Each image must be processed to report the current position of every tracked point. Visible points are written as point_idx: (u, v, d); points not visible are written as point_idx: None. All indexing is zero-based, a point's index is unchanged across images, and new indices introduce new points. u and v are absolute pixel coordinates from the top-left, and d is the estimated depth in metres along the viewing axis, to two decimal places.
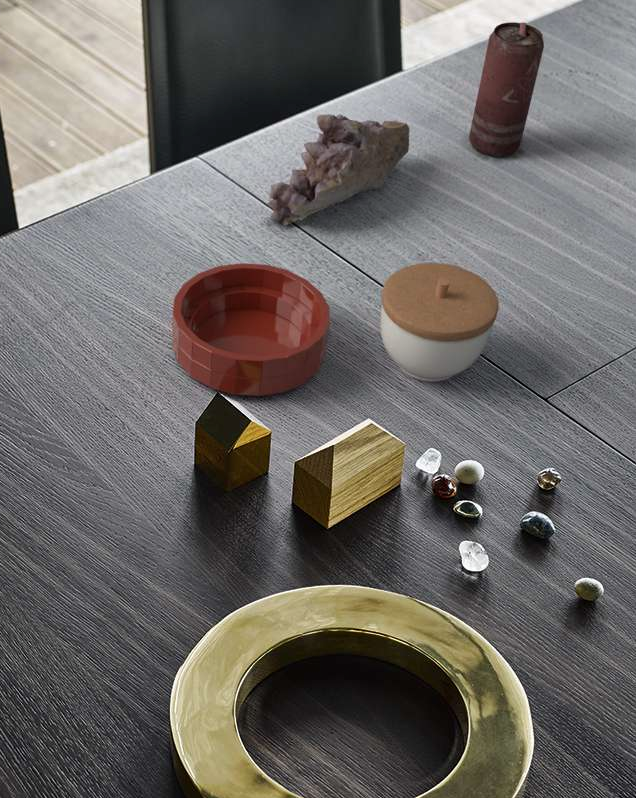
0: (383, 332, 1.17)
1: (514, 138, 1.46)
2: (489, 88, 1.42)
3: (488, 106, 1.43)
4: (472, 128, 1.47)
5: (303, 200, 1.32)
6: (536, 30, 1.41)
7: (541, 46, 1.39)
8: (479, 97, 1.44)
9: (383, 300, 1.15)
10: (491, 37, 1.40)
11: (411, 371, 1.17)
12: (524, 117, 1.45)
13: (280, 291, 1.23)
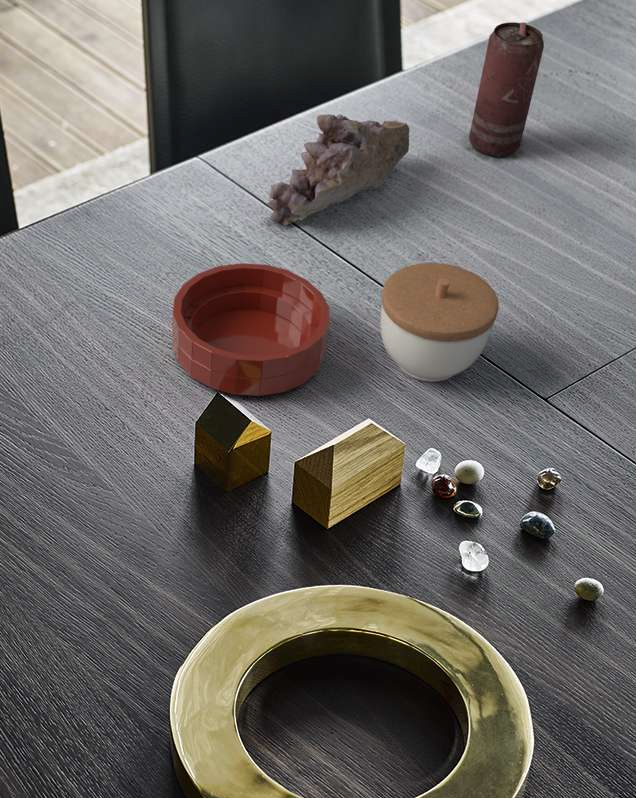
0: (383, 332, 1.17)
1: (514, 138, 1.46)
2: (489, 88, 1.42)
3: (488, 106, 1.43)
4: (472, 128, 1.47)
5: (303, 200, 1.32)
6: (536, 30, 1.41)
7: (541, 46, 1.39)
8: (479, 97, 1.44)
9: (383, 300, 1.15)
10: (491, 37, 1.40)
11: (411, 371, 1.17)
12: (524, 117, 1.45)
13: (280, 291, 1.23)
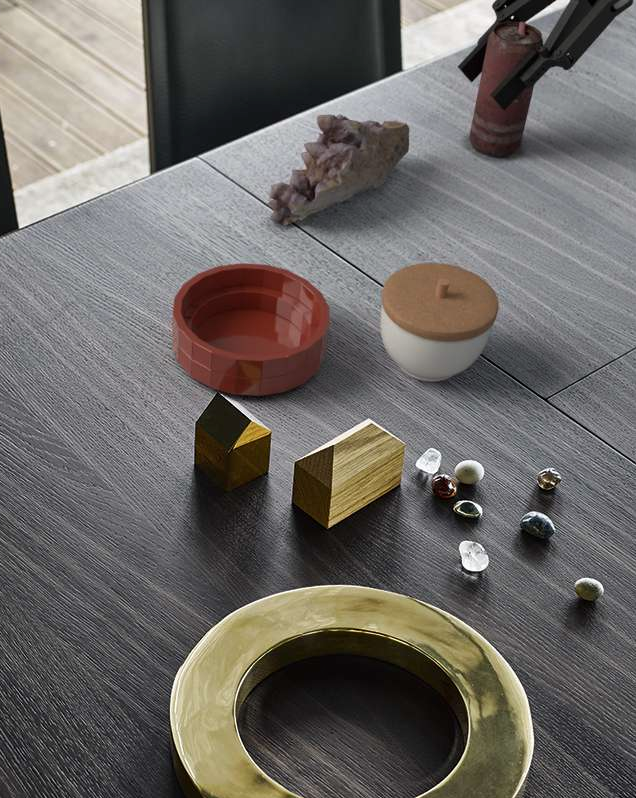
0: (383, 332, 1.17)
1: (515, 137, 1.46)
2: (489, 87, 1.42)
3: (488, 106, 1.43)
4: (472, 128, 1.47)
5: (303, 200, 1.32)
6: (535, 29, 1.41)
7: (541, 45, 1.39)
8: (479, 97, 1.44)
9: (383, 300, 1.15)
10: (490, 36, 1.40)
11: (411, 371, 1.17)
12: (524, 116, 1.45)
13: (280, 291, 1.23)
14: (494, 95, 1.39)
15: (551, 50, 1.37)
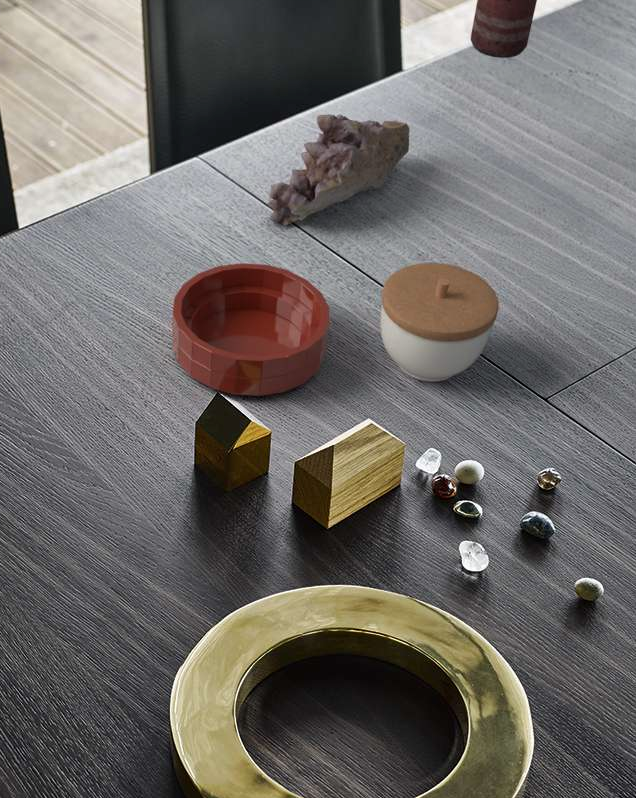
0: (383, 332, 1.17)
1: (521, 35, 1.33)
2: None
3: None
4: (474, 26, 1.34)
5: (303, 200, 1.32)
6: None
7: None
8: None
9: (383, 300, 1.15)
10: None
11: (411, 371, 1.17)
12: (531, 11, 1.31)
13: (280, 291, 1.23)
14: None
15: None
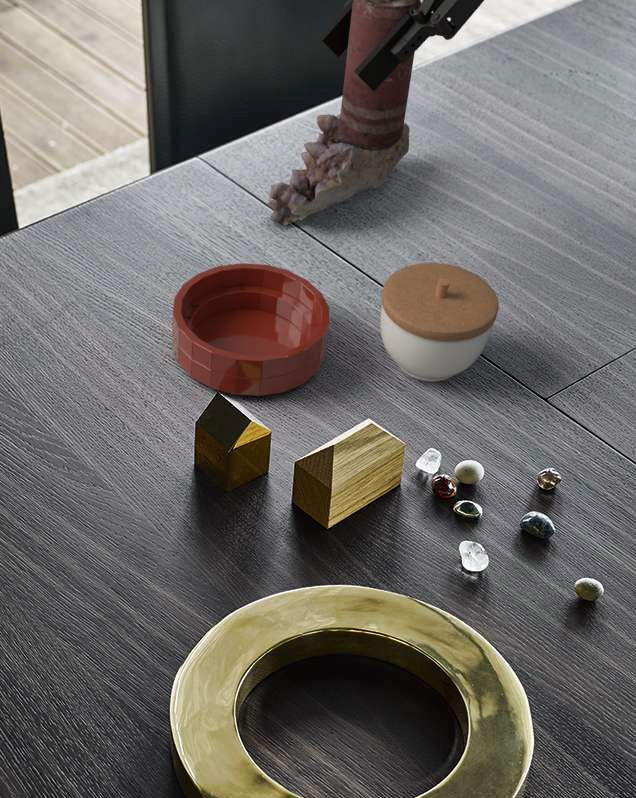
0: (383, 332, 1.17)
1: (392, 126, 1.17)
2: (356, 63, 1.13)
3: (356, 86, 1.14)
4: (341, 115, 1.18)
5: (303, 200, 1.32)
6: None
7: (417, 9, 1.10)
8: (346, 75, 1.15)
9: (383, 300, 1.15)
10: None
11: (411, 371, 1.17)
12: (403, 100, 1.16)
13: (280, 291, 1.23)
14: (359, 72, 1.10)
15: (428, 14, 1.08)
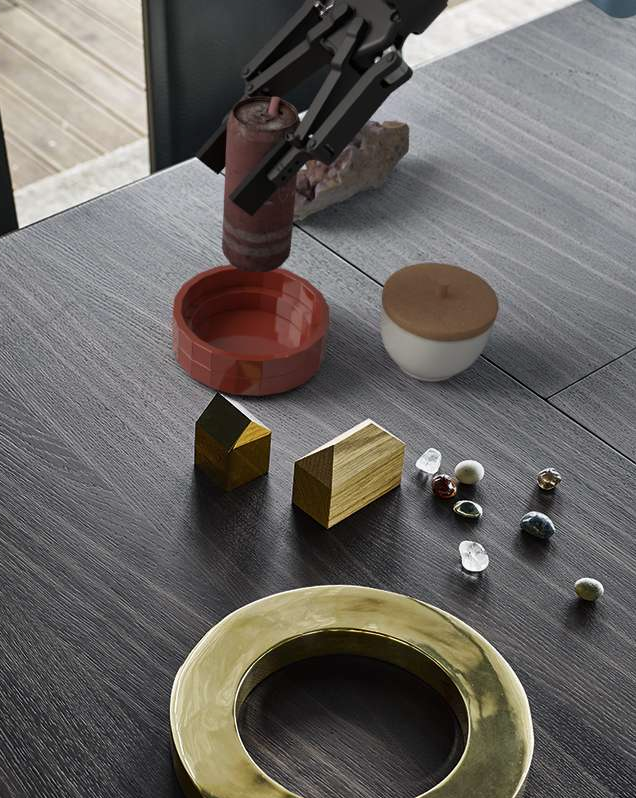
0: (383, 332, 1.17)
1: (276, 248, 1.09)
2: (233, 185, 1.05)
3: (235, 208, 1.06)
4: (223, 234, 1.10)
5: (303, 200, 1.32)
6: (292, 107, 1.03)
7: None
8: (225, 195, 1.07)
9: (383, 300, 1.15)
10: (229, 118, 1.03)
11: (411, 371, 1.17)
12: (286, 221, 1.08)
13: (280, 291, 1.23)
14: (233, 198, 1.02)
15: (305, 139, 1.00)
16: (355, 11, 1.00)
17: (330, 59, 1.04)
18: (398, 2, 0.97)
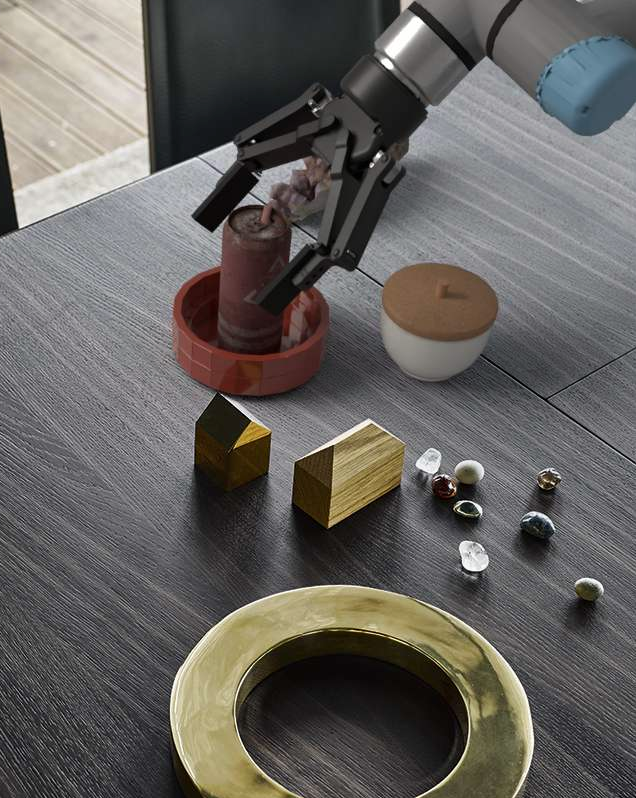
0: (383, 332, 1.17)
1: (268, 342, 1.16)
2: (228, 286, 1.13)
3: (229, 306, 1.14)
4: (218, 327, 1.18)
5: (303, 200, 1.32)
6: (283, 216, 1.11)
7: (286, 239, 1.09)
8: (220, 293, 1.15)
9: (383, 300, 1.15)
10: (224, 226, 1.10)
11: (411, 371, 1.17)
12: (277, 318, 1.15)
13: None
14: (259, 301, 1.07)
15: (328, 244, 1.04)
16: (340, 125, 1.07)
17: None
18: (381, 117, 1.04)
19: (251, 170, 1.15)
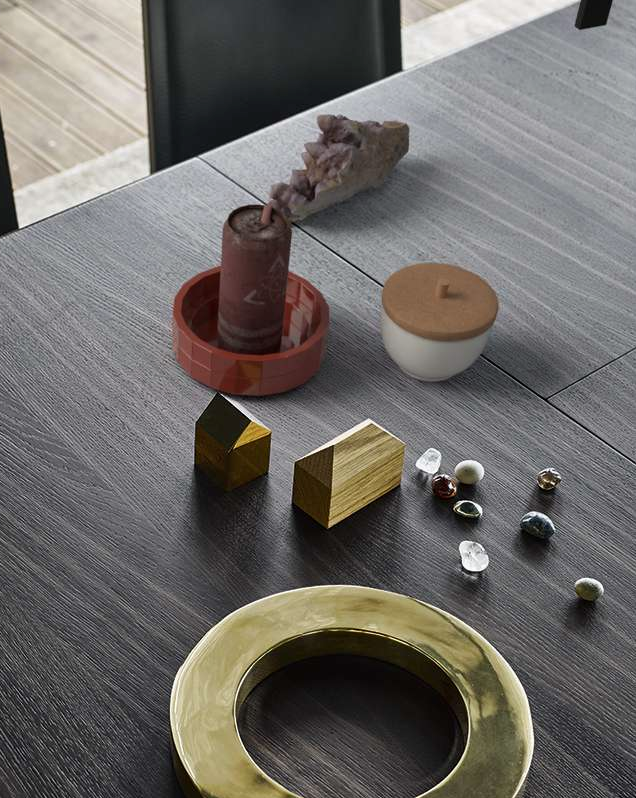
0: (383, 332, 1.17)
1: (268, 342, 1.16)
2: (228, 286, 1.13)
3: (229, 306, 1.14)
4: (218, 327, 1.18)
5: (303, 200, 1.32)
6: (283, 216, 1.11)
7: (286, 239, 1.09)
8: (220, 293, 1.15)
9: (383, 300, 1.15)
10: (224, 226, 1.10)
11: (411, 371, 1.17)
12: (277, 318, 1.15)
13: None
14: (579, 26, 1.03)
15: None
16: None
17: None
18: None
19: None
